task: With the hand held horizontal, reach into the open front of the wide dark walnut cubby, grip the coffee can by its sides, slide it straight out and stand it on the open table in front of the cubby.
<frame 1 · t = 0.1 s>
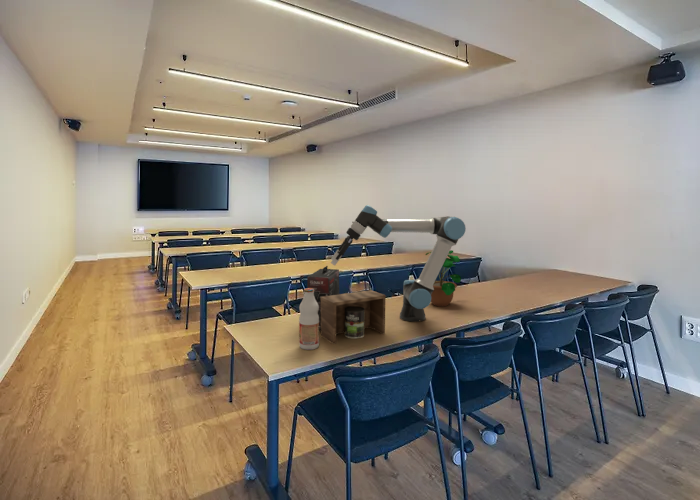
hand: (332, 262, 211), 36 cm above the table, tool tilted 35°, fingers open, 13 cm apart
coffee can: (354, 335, 200), resting in cubby
potted plant: (445, 305, 261), on the table
headset box: (324, 324, 218), on the table
cubby: (353, 334, 201), on the table
fruit juice: (309, 346, 184), on the table
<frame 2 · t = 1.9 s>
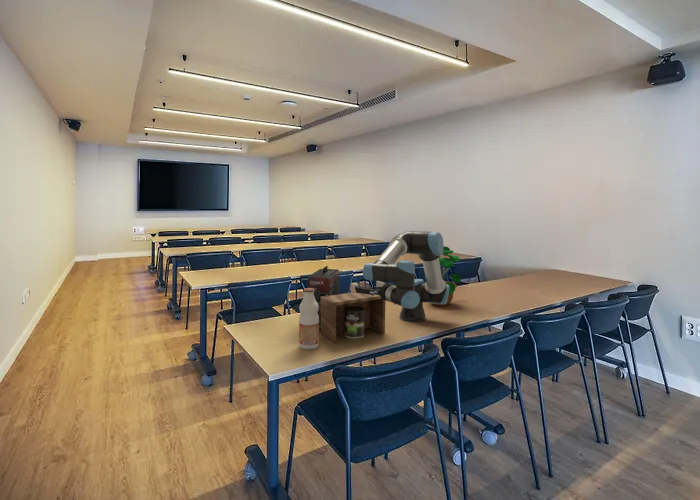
hand: (365, 284, 188), 28 cm above the table, tool horizontal, fingers open, 13 cm apart
nothing on the table moved.
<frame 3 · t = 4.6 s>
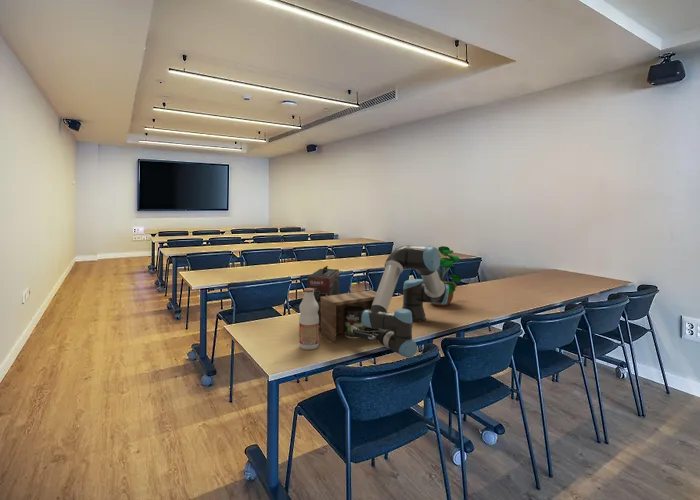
hand: (363, 326, 192), 7 cm above the table, tool horizontal, fingers open, 13 cm apart
nothing on the table moved.
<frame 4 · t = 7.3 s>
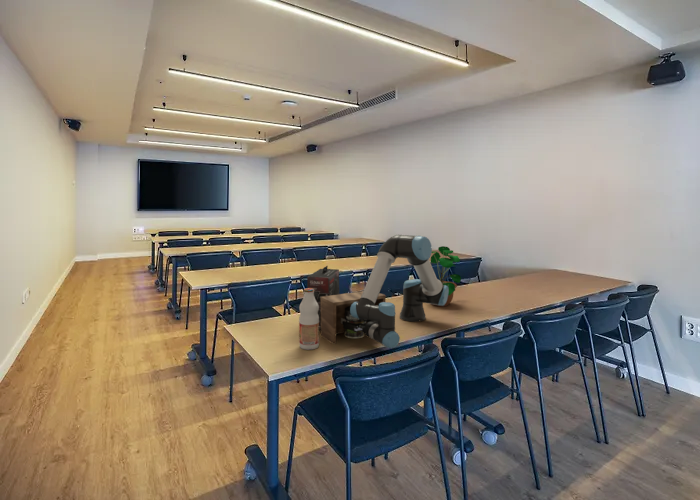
hand: (350, 318, 203), 8 cm above the table, tool horizontal, fingers closed on coffee can, 10 cm apart
coffee can: (354, 335, 200), resting in cubby, touching gripper
everything else where it was.
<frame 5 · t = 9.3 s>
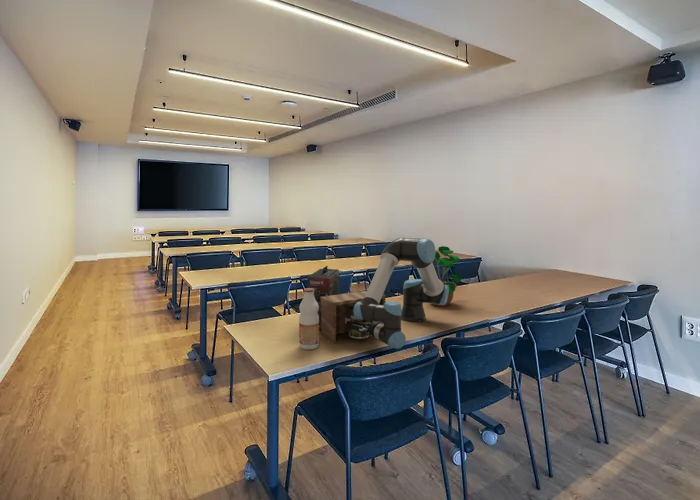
hand: (354, 318, 198), 9 cm above the table, tool horizontal, fingers closed on coffee can, 10 cm apart
coffee can: (358, 335, 195), point 1 cm above the table, touching gripper
everything else where it was.
when the fingers open (8 cm above the table, at t = 11.6 s): coffee can stays where it is, on the table.
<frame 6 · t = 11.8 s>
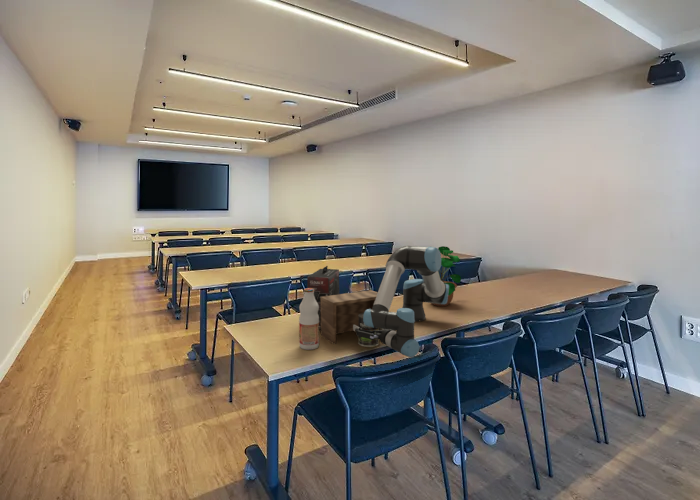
hand: (364, 325, 191), 8 cm above the table, tool horizontal, fingers open, 12 cm apart
coffee can: (368, 343, 189), on the table
everything else where it was.
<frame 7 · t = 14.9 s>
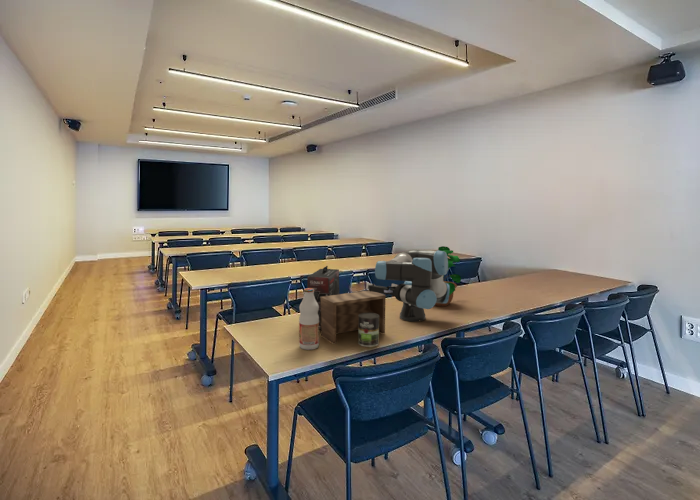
hand: (379, 286, 179), 30 cm above the table, tool horizontal, fingers open, 13 cm apart
nothing on the table moved.
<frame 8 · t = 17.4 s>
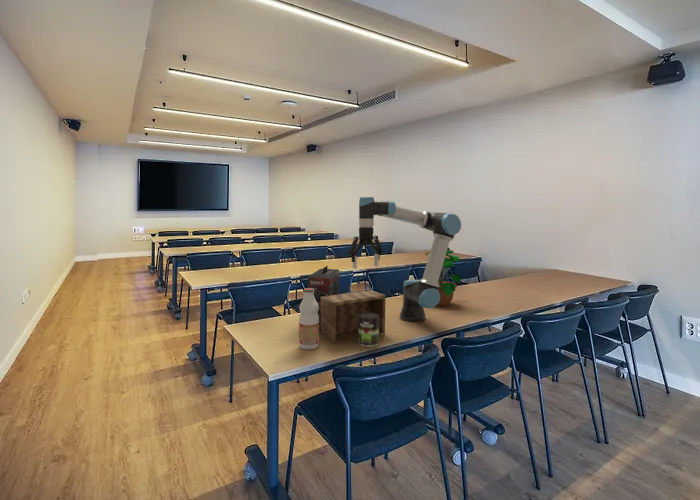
hand: (365, 267, 202), 35 cm above the table, tool pointing down, fingers open, 13 cm apart
nothing on the table moved.
at the end: coffee can inside the target area (1.0 cm from its centre), on the table; coffee can tilted 0°; the gripper is holding nothing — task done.
